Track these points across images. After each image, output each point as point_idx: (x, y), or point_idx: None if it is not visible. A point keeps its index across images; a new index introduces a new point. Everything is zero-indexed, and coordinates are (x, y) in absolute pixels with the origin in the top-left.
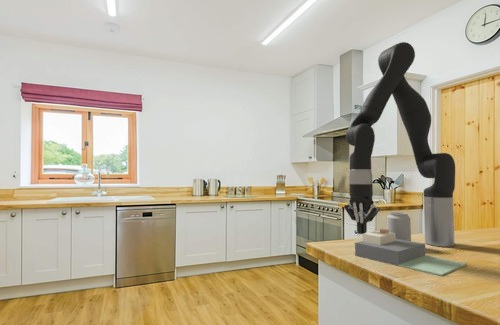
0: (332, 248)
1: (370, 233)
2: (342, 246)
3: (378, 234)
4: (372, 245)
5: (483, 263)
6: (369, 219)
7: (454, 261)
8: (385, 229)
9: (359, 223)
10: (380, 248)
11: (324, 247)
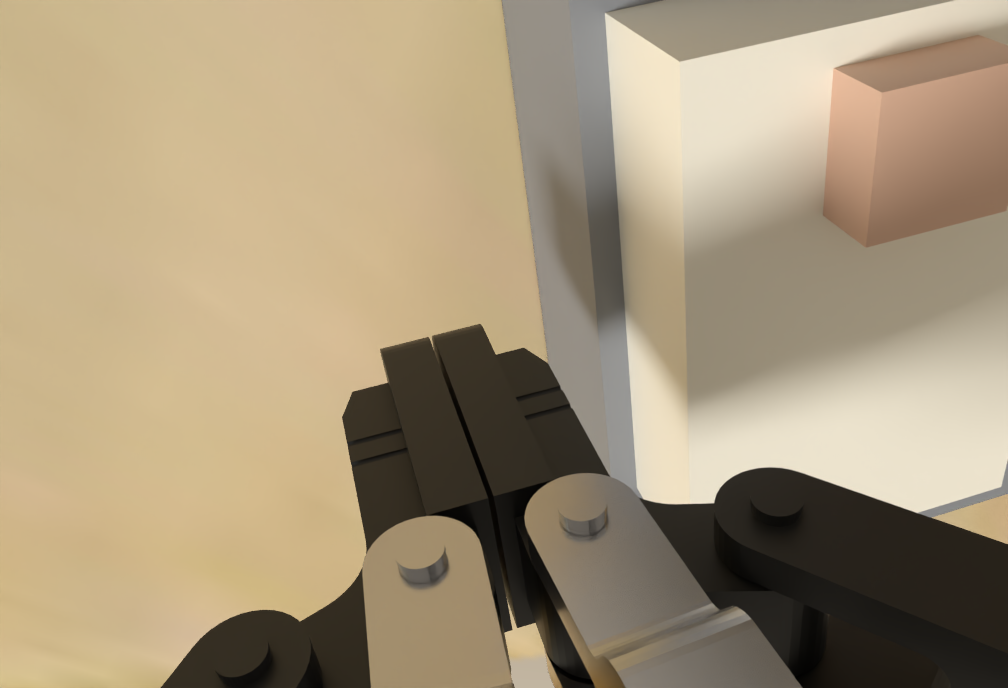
0: (107, 556)
1: (765, 461)
2: (16, 364)
3: (909, 394)
4: None
5: None
6: (862, 637)
7: None
8: (977, 136)
9: (505, 624)
10: (976, 495)
11: (4, 622)
